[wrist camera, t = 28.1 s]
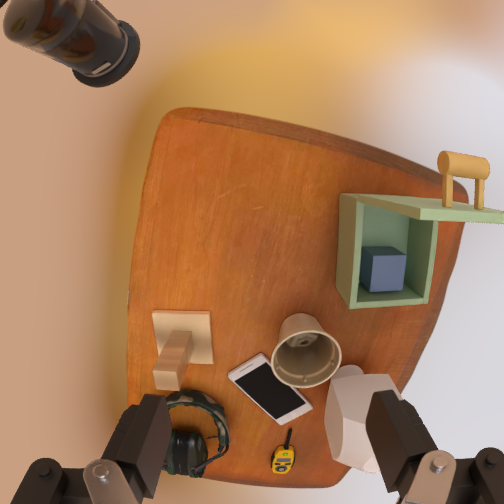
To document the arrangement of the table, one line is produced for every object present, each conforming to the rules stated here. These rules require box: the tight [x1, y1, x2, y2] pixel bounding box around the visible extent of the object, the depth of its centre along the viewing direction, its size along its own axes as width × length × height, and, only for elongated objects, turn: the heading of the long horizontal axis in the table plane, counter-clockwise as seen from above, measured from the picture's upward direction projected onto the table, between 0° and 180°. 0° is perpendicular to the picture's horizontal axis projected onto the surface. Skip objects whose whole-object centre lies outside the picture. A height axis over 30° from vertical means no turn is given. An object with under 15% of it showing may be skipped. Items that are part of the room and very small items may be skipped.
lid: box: [358, 151, 504, 224], centre depth 26 cm, size 15×12×6 cm
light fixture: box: [324, 365, 403, 473], centre depth 40 cm, size 9×9×20 cm
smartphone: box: [228, 353, 313, 425], centre depth 50 cm, size 7×15×1 cm, turn 38°
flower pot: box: [271, 313, 342, 388], centre depth 43 cm, size 9×9×9 cm
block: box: [359, 246, 407, 292], centre depth 41 cm, size 5×5×5 cm
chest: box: [335, 193, 438, 309], centre depth 40 cm, size 14×12×8 cm
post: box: [152, 310, 214, 391], centre depth 42 cm, size 9×9×12 cm
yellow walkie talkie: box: [271, 429, 295, 474], centre depth 54 cm, size 5×2×15 cm
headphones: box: [161, 390, 231, 478], centre depth 49 cm, size 13×13×20 cm
